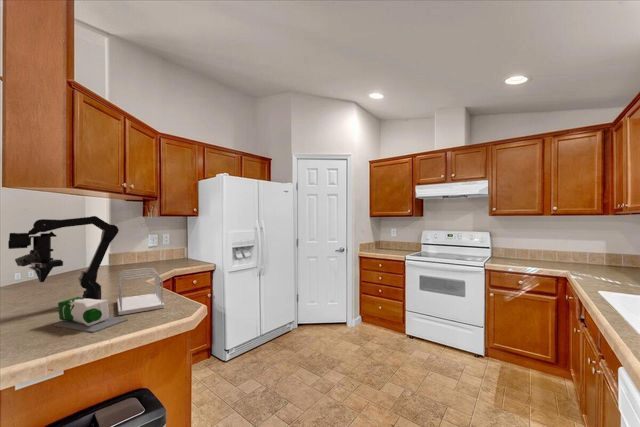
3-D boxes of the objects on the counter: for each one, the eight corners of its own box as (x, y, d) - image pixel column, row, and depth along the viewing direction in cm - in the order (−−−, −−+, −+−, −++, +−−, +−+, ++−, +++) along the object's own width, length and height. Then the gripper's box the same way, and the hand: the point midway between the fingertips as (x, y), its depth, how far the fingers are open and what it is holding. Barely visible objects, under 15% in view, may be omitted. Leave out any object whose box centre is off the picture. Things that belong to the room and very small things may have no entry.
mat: (90, 314, 124) (90, 313, 124) (127, 320, 117) (127, 319, 117) (53, 325, 111) (53, 324, 111) (93, 332, 104) (93, 331, 104)
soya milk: (54, 301, 113) (88, 306, 107) (80, 293, 122) (113, 298, 115) (56, 322, 114) (90, 329, 107) (82, 313, 123) (115, 319, 116)
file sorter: (164, 308, 132) (164, 274, 132) (118, 316, 122) (118, 279, 122) (157, 296, 152) (157, 266, 153) (116, 302, 142) (117, 270, 142)
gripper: (5, 248, 124) (4, 284, 124) (32, 250, 118) (32, 288, 118) (37, 245, 135) (37, 279, 134) (64, 247, 129) (63, 282, 129)
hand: (41, 282), depth 129 cm, fingers closed
